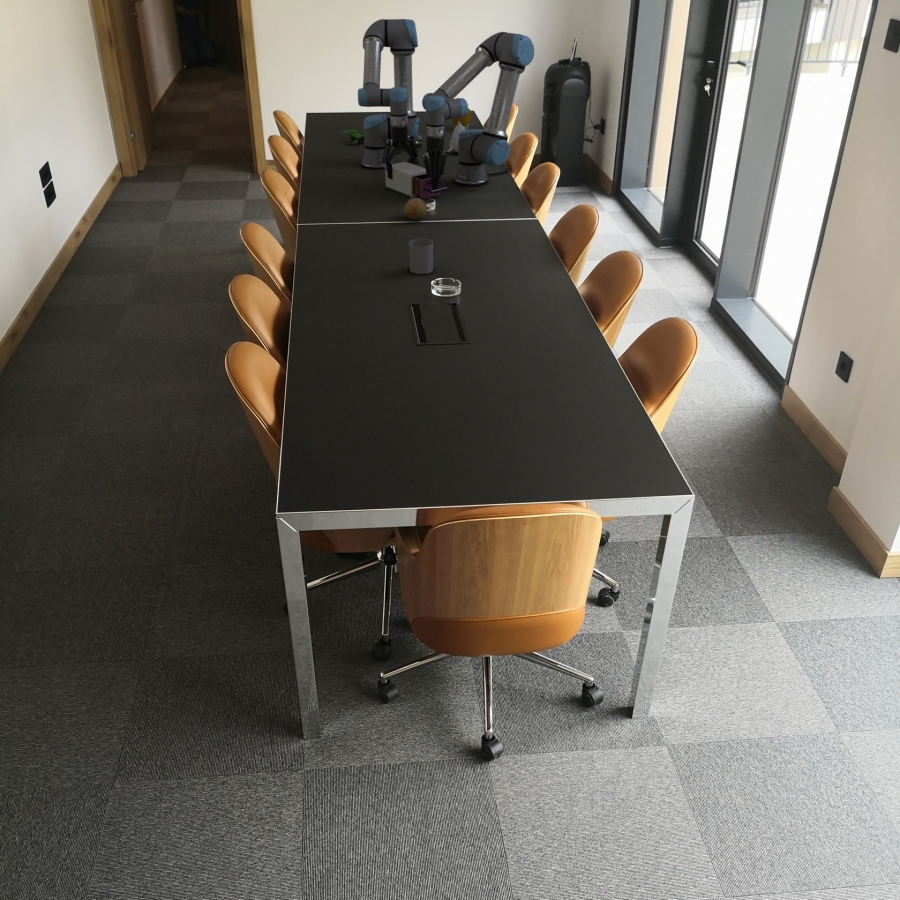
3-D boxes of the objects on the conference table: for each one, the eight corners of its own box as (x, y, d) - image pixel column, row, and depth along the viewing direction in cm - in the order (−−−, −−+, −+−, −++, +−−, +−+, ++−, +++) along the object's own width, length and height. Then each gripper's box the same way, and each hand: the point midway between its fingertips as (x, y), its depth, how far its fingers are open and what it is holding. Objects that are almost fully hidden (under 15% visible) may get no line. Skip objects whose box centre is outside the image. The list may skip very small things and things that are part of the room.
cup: (409, 265, 311) (408, 238, 306) (432, 265, 312) (431, 238, 307) (410, 274, 304) (409, 246, 299) (433, 273, 305) (433, 246, 299)
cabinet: (430, 193, 388) (430, 170, 383) (410, 197, 382) (410, 174, 377) (405, 183, 400) (405, 161, 395) (385, 188, 394) (385, 165, 389)
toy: (474, 152, 449) (475, 122, 441) (443, 160, 434) (443, 129, 426) (462, 149, 454) (462, 119, 446) (430, 157, 439) (430, 126, 431)
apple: (471, 132, 486) (471, 108, 479) (451, 132, 486) (451, 108, 479) (470, 128, 495) (471, 104, 488) (452, 128, 495) (452, 104, 488)
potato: (426, 213, 362) (426, 194, 358) (428, 224, 351) (428, 204, 346) (403, 213, 362) (402, 194, 358) (404, 224, 350) (403, 205, 346)
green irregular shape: (396, 126, 467) (340, 124, 465) (396, 141, 460) (339, 139, 458) (396, 136, 472) (341, 134, 470) (396, 151, 465) (340, 149, 463)
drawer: (448, 197, 379) (448, 179, 374) (430, 202, 373) (430, 183, 369) (416, 185, 394) (415, 168, 389) (398, 189, 388) (397, 171, 384)
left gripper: (382, 130, 371) (384, 182, 383) (425, 123, 384) (426, 173, 396) (372, 127, 376) (374, 178, 388) (415, 120, 389) (416, 169, 401)
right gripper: (428, 139, 358) (428, 197, 370) (452, 135, 364) (452, 191, 377) (417, 136, 362) (418, 192, 375) (442, 132, 369) (441, 187, 382)
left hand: (400, 176), depth 392 cm, fingers closed on cabinet, 11 cm apart
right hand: (435, 192), depth 376 cm, fingers closed
